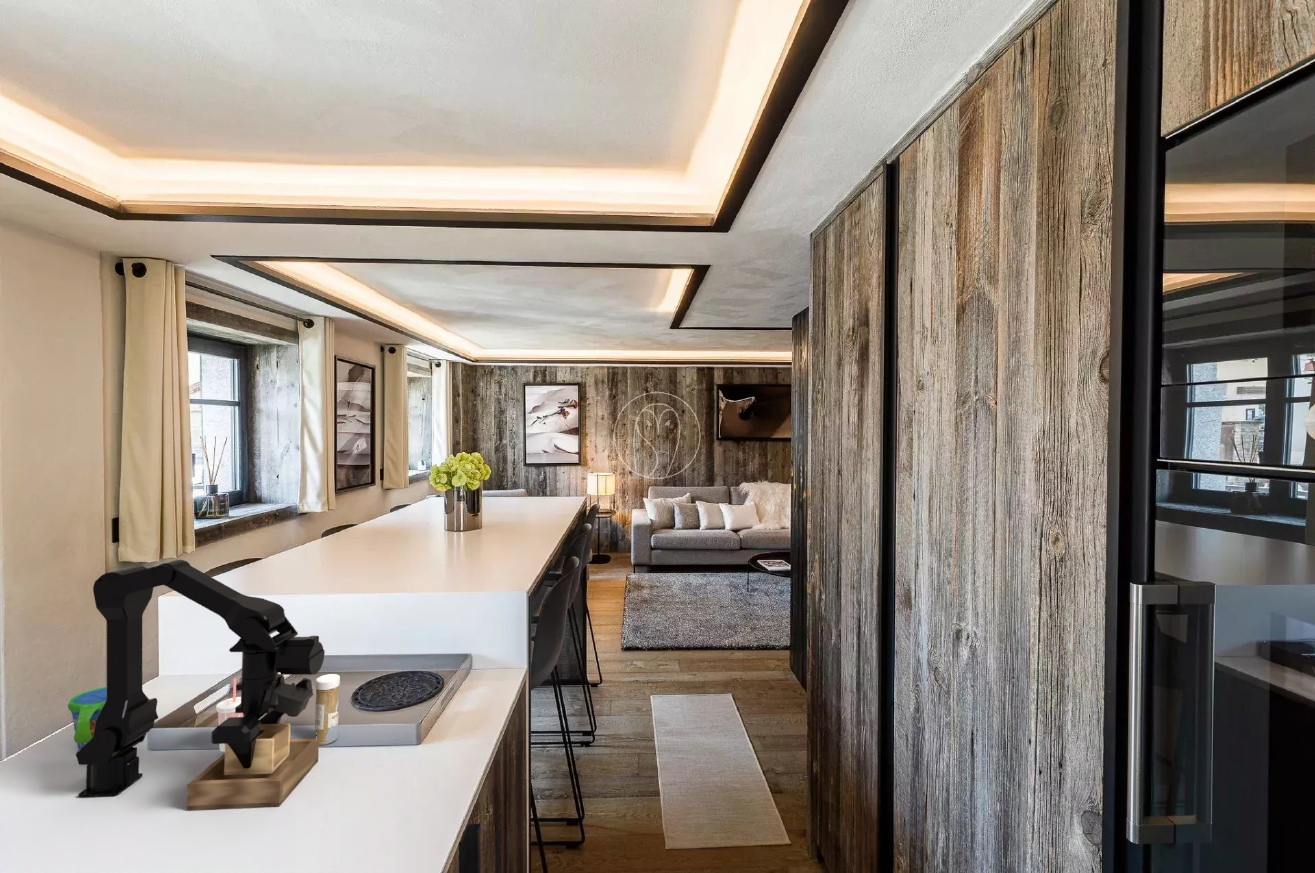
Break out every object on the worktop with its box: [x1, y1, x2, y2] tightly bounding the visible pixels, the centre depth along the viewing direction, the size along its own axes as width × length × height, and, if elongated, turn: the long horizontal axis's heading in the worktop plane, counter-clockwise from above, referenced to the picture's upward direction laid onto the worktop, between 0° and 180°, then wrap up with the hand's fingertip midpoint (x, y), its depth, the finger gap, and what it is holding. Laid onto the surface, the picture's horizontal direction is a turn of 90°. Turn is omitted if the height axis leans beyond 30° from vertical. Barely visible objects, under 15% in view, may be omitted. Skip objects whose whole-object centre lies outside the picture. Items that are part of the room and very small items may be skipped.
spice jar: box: [314, 673, 341, 746], centre depth 128 cm, size 5×5×14 cm
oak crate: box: [224, 723, 291, 775], centre depth 112 cm, size 8×6×6 cm
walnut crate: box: [186, 738, 320, 812], centre depth 111 cm, size 15×15×4 cm
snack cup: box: [67, 686, 107, 750], centre depth 125 cm, size 16×10×10 cm
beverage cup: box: [216, 677, 243, 752], centre depth 125 cm, size 6×6×14 cm
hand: (257, 758), depth 112 cm, fingers closed on oak crate, 6 cm apart
